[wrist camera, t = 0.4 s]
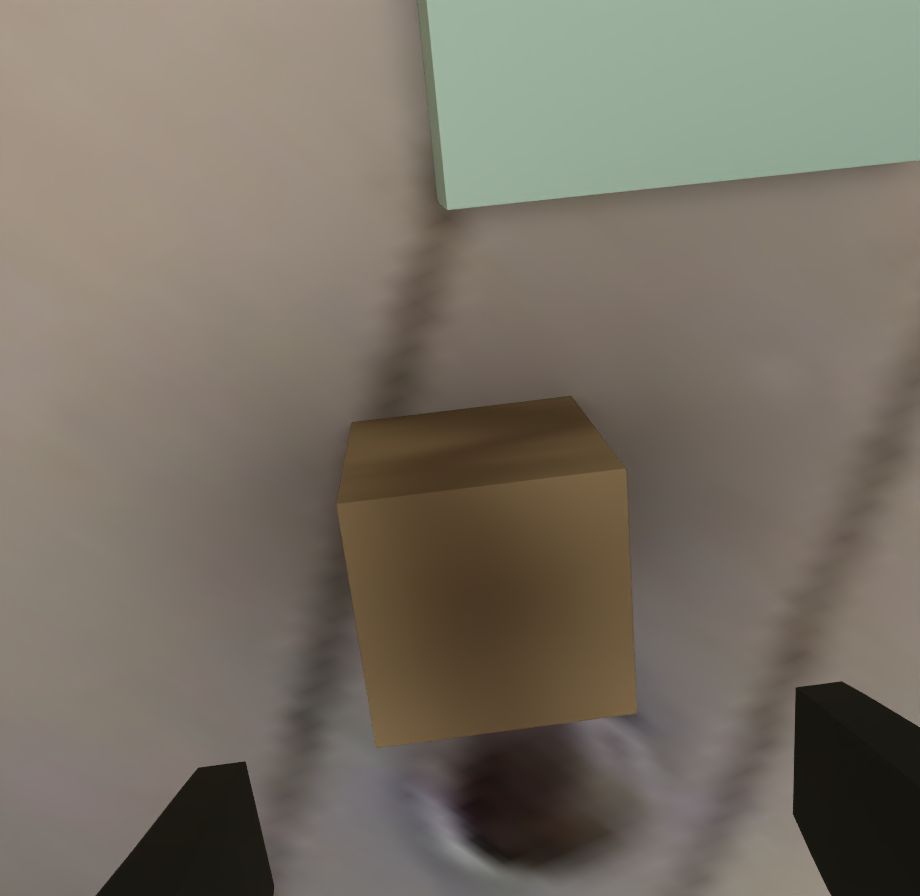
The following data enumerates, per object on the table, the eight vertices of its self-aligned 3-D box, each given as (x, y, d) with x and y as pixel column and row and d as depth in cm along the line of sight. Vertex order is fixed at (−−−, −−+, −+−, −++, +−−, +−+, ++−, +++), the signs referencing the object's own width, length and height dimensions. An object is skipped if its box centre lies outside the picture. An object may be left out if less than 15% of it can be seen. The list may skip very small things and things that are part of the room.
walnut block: (570, 394, 19) (626, 468, 14) (583, 590, 21) (637, 713, 16) (352, 421, 19) (335, 503, 14) (381, 616, 21) (376, 747, 16)
